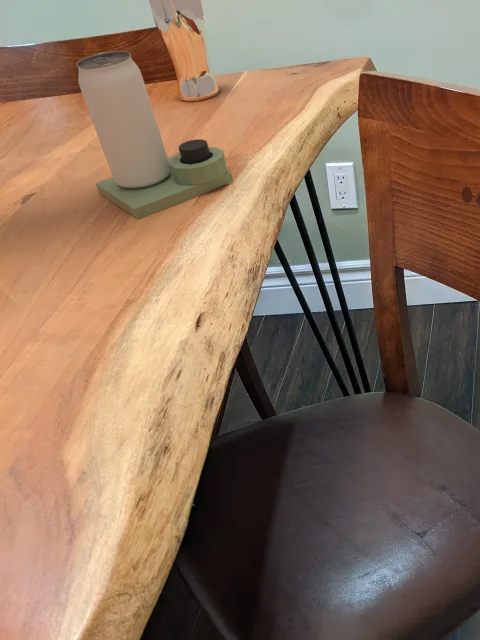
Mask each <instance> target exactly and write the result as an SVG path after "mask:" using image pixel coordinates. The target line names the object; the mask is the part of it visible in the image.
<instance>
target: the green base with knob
mask: <svg viewBox="0 0 480 640" xmlns="http://www.w3.org/2000/svg"><path fill="white" fill-rule="evenodd" d="M208 147H209V151H210V155H211V158H210V159H208V160H206V161H204V162H201V163H196V164H183V161H182V158H181V155H180V152H179V153H176V154H173V155H171V156H167V158H168V161H169V166H170V170H171V171H170V173H169V176H168V178H167V179H165V180H164V181H162V182H161V183H158V184H156V185H153V186H150V187H147V188H142V189H125V188H122V187H120V186H119V185H118V184H116V182H115V180H114V178H113V176H111V177H109V178H106V179H104V180H101V181H99V182H95V187H96V188H97V189H96V190H97V191H98V193H99V195H101V196H102V197H103V198H105V199H107V200H108V201H110V202H111V203H112V204H114V205H115V206H117V207H118V208H120V209H121V210H123V211H125V212H126V213H127V214H129V215H131V216H132V217H134V218H135V219H136V220H141V219H143V218H146V217H149V216H150V215H155V214H156V213H158V212H161V211H164V210H166V209H169V208H171V207H174V206H176V205H179V204H181V203H185V202H187V201H189V200H192V199H194V198H197V197H200V196H202V195H204V194H203V193H205V194H207V193H209V191H210V192H212V191H214V190H213V189H215V190H217V189H219V188H218V187H220V188H222V187H221V186H223V185H225V184H228V183H230V182H233V183H234V180H233V176H232V173H231V171H229V170H228V164H227V163H228V162H227V160H226V155H225V152H224V151H225V150H224V149H221V148H219V147H215V146H208ZM230 184H231V183H230ZM228 185H229V184H228ZM225 186H226V185H225ZM223 187H224V186H223ZM216 188H217V189H216ZM211 190H212V191H211ZM201 194H202V195H201ZM199 195H200V196H199ZM196 196H197V197H196Z"/></svg>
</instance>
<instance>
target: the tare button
mask: <svg viewBox="0 0 480 640" xmlns="http://www.w3.org/2000/svg"><path fill="white" fill-rule="evenodd" d="M209 147H210V146H209V144H208V141H207V140H205V139H199V138H198V139H191V140H187V141H185V142H182V143H180V144H179V146H178V151H179V153H180V155H181V158H182V161H183V164H196V163H201V162H204V161H206V160H208V159H210V158H211V155H210V151H209Z"/></svg>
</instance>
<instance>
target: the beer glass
mask: <svg viewBox="0 0 480 640" xmlns="http://www.w3.org/2000/svg"><path fill="white" fill-rule="evenodd" d="M148 3H149V7H150V11H151V14H152V18H153V20H154V25H155V27H156V29H157V31H158V35H159V37H160V39H161V42H162V43H163V46H164V48H165V50H166V52H167V55H168V57H169V60H170V62H171V64H172V67H173V70H174V74H175V77H176V78H175V79H176V83H177V85H176V86H177V93H178V98H179V100H180V101H183V102H189V103H190V102H199V101H204V100H208V99H211V98H213V97H216V96H217V95H218V94H219V93H220V88H219V85H218V83H217V80H216V78H215V75H214V73H213V70H212V66H211V62H210V57H209V48H208V38H207V37H208V36H207V28H206V21H205V14H204V9H203V5H202V0H148Z"/></svg>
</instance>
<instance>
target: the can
mask: <svg viewBox="0 0 480 640" xmlns="http://www.w3.org/2000/svg"><path fill="white" fill-rule="evenodd" d="M75 66H76V67H77V69H78V70H77V71H78V77H77V78H78V79H77V81H78V86H79V88H80V91H81V95H82V97H83V99H84V103H85V105H86V108H87V111H88V113H89V116H90V119H91V121H92V125H93V127H94V130H95V133H96V135H97V138H98V140H99V143H100V146H101V148H102V151H103V154H104V157H105V159H106V161H107V164H108V167H109V170H110V172H111V175H112V177H113V178H114V180H115V182H116V184H118V185H119V186H120V187H122V188H125V189H142V188H147V187H150V186H153V185H156V184H158V183H161V182H162V181H164V180H165V179H167V178H168V176H169V173H170V171H171V170H170V166H169V161H168V158H167V157H168V155H167V152H166V148H165V145H164V142H163V138H162V135H161V132H160V129H159V125H158V122H157V119H156V116H155V113H154V110H153V107H152V103H151V100H150V97H149V94H148V93H149V92H148V90H147V87H146V84H145V80H144V77H143V74H142V71H141V68H139V66H138V64H137V63H136V62H135V61H134V60H133V58H132V53H131V52H130V51H128V50H110V51H104V52H100V53H95V54H92V55H88V56H85V57H84V58H81V59H80V60H78V61H77V62H76V63H75Z"/></svg>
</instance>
